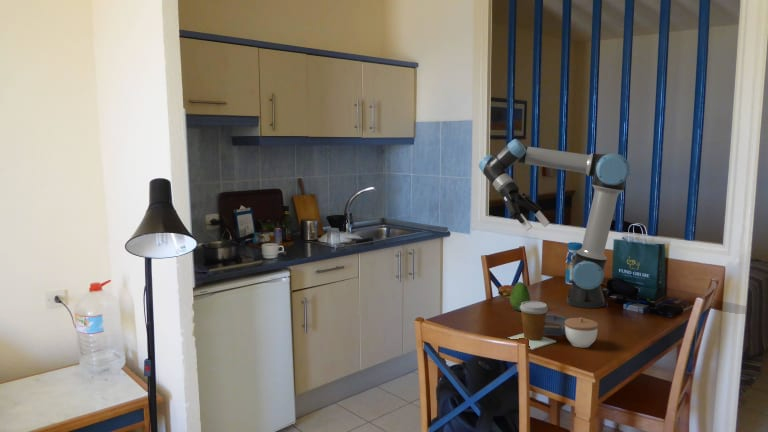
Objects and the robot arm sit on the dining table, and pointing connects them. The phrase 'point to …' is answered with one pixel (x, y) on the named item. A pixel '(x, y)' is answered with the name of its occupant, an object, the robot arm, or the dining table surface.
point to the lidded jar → (581, 331)
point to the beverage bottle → (570, 260)
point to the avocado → (519, 295)
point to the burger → (505, 291)
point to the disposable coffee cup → (533, 319)
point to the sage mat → (535, 341)
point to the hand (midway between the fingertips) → (538, 226)
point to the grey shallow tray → (555, 329)
